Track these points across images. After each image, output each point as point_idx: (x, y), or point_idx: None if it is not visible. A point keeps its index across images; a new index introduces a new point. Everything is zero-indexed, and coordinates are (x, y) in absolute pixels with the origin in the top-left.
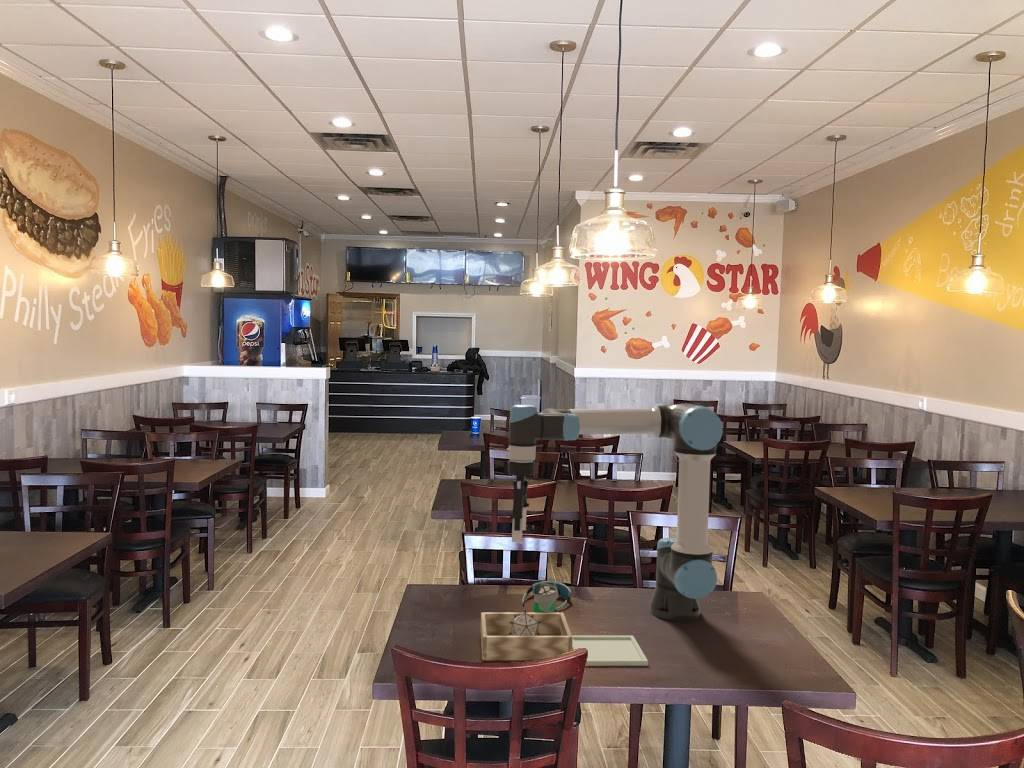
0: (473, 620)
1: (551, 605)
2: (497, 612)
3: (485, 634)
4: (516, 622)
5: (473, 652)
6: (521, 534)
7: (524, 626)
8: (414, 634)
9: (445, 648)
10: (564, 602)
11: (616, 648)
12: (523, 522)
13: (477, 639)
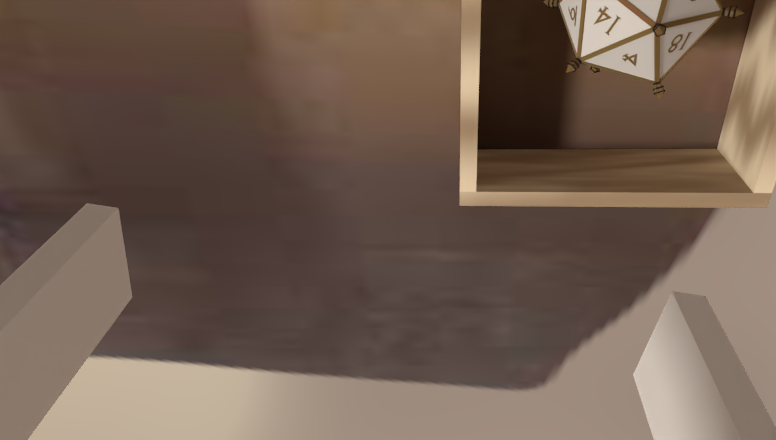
0: (322, 183)
1: None
2: (460, 138)
3: (737, 197)
4: (670, 64)
5: None
6: (739, 370)
7: (713, 21)
8: (464, 350)
9: (593, 272)
10: None
11: None
12: (68, 291)
13: None
